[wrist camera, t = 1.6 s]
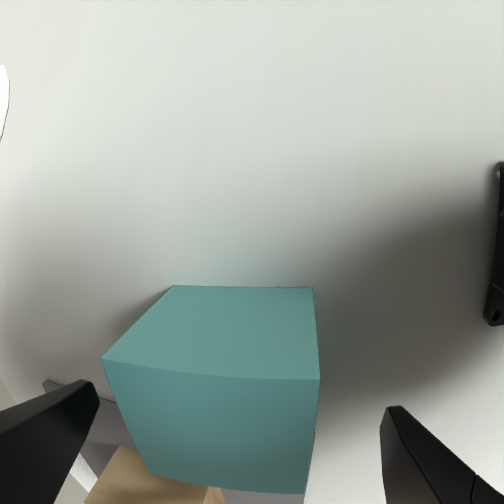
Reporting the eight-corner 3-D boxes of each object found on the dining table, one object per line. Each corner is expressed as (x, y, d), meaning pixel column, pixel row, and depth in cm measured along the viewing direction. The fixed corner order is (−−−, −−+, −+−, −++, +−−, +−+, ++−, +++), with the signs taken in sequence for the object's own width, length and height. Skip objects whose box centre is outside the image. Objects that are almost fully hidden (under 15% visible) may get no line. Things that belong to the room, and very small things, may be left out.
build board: (314, 426, 12) (314, 434, 11) (297, 523, 15) (297, 528, 15) (46, 380, 14) (42, 384, 14) (110, 488, 18) (108, 491, 17)
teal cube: (312, 285, 10) (320, 379, 5) (306, 395, 11) (304, 493, 7) (174, 284, 11) (100, 358, 6) (192, 387, 12) (150, 473, 7)
